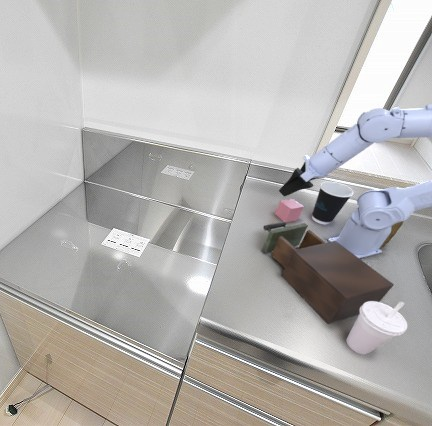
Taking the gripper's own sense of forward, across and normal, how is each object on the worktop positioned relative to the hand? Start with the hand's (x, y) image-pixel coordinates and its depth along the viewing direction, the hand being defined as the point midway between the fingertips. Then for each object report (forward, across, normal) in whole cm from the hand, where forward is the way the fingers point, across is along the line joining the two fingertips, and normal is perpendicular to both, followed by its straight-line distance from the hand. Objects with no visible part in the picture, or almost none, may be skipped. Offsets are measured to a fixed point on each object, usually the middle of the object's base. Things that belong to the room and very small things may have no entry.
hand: (286, 189), depth 79 cm
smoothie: (+2, +24, +31) cm, 39 cm away
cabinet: (+4, +15, +23) cm, 27 cm away
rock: (-2, -16, +25) cm, 30 cm away
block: (+9, -9, +7) cm, 14 cm away
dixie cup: (+5, -14, +14) cm, 20 cm away
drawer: (+7, +9, +14) cm, 18 cm away
